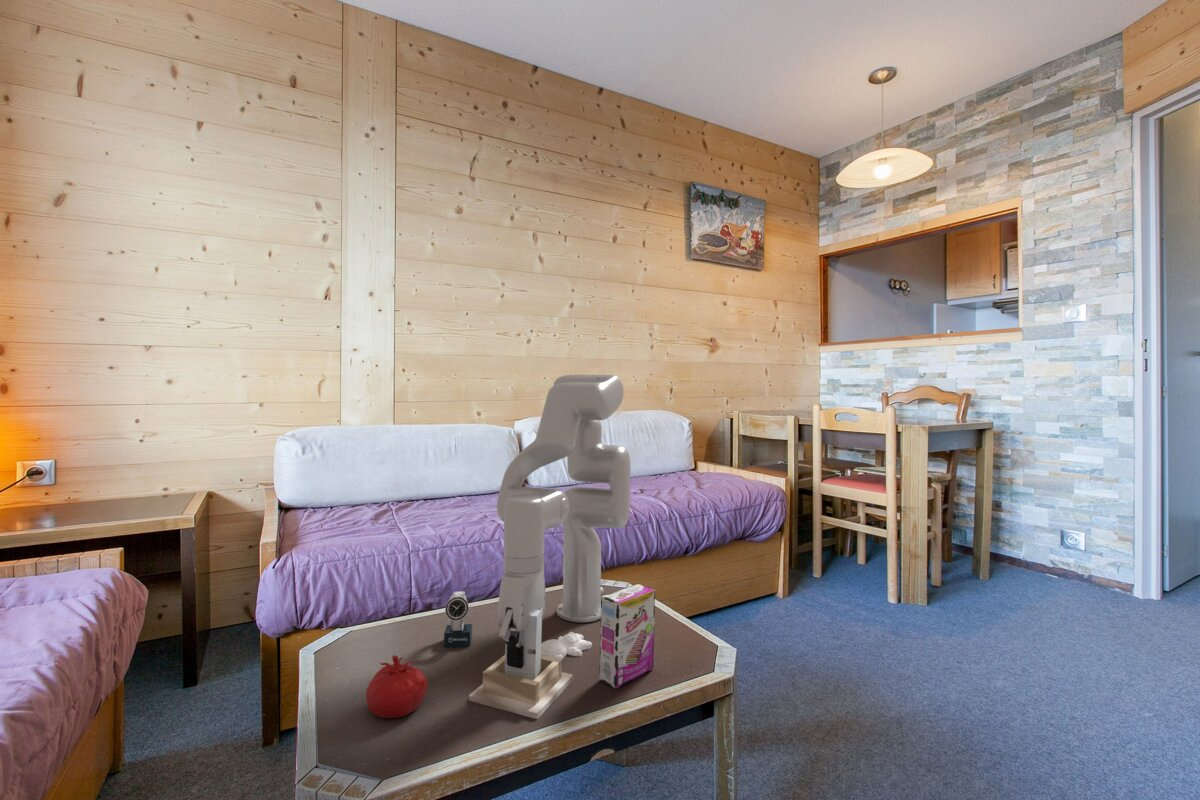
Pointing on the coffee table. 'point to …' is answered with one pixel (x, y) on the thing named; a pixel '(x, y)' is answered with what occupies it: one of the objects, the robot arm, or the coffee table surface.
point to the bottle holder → (522, 688)
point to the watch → (457, 622)
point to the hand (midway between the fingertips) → (523, 658)
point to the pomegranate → (396, 689)
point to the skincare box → (529, 649)
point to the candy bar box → (626, 634)
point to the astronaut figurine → (565, 646)
